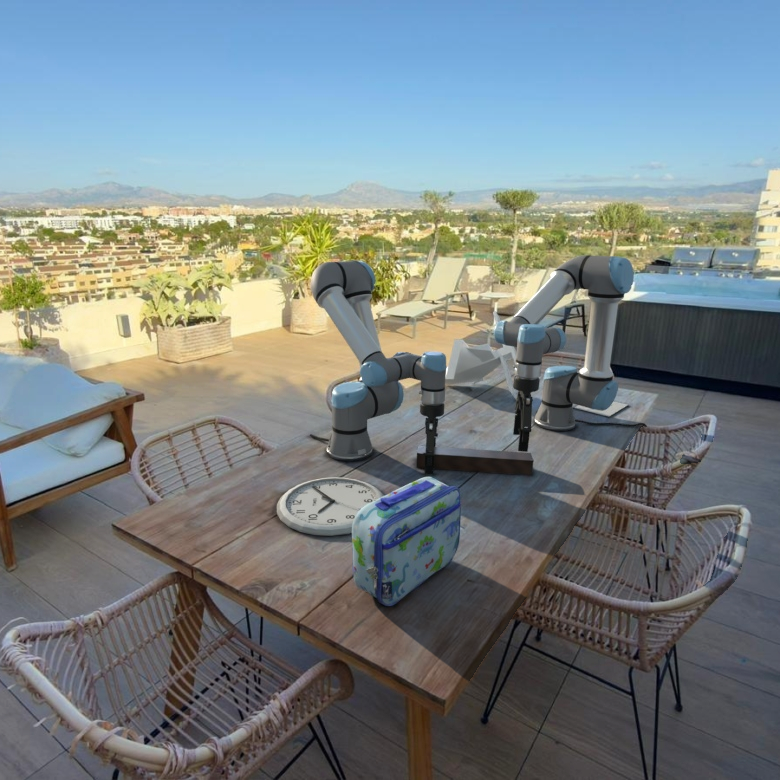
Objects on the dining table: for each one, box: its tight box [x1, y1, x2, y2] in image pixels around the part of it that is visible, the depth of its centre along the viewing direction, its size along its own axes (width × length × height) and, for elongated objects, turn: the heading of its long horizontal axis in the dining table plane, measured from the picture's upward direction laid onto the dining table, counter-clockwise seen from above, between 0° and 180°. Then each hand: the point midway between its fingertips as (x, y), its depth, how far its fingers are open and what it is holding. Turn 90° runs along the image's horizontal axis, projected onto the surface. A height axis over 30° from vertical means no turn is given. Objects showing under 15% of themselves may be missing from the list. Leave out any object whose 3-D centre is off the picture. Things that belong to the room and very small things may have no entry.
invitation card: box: [573, 400, 629, 418], centre depth 226 cm, size 21×1×15 cm
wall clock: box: [276, 476, 385, 537], centre depth 142 cm, size 30×2×30 cm
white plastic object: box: [445, 310, 517, 400], centre depth 245 cm, size 37×45×31 cm
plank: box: [415, 445, 534, 476], centre depth 166 cm, size 36×6×5 cm, turn 83°
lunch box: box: [351, 476, 462, 607], centre depth 111 cm, size 26×11×21 cm, turn 135°
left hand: (430, 464), depth 168 cm, fingers open, 13 cm apart
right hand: (519, 442), depth 162 cm, fingers open, 13 cm apart
